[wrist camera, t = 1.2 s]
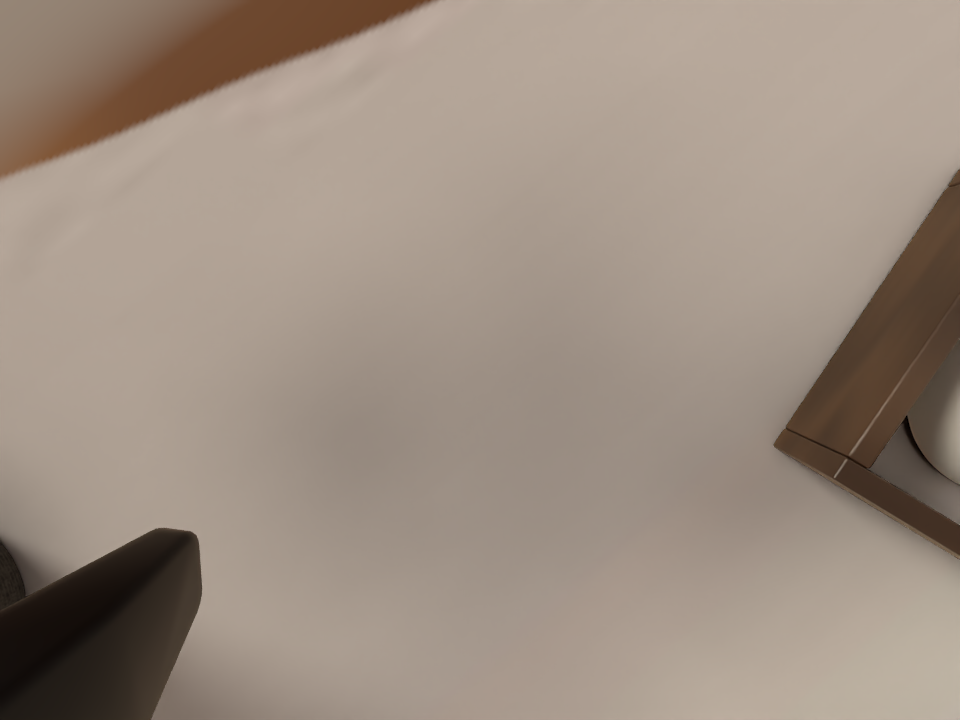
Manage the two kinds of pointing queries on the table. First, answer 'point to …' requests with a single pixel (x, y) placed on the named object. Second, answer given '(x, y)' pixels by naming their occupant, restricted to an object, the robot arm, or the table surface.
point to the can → (940, 418)
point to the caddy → (887, 375)
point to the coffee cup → (9, 581)
